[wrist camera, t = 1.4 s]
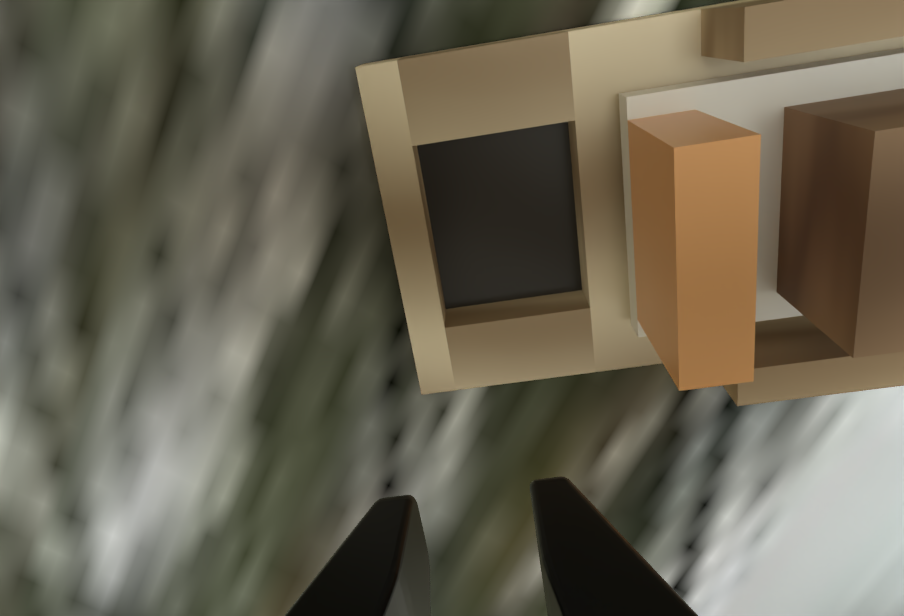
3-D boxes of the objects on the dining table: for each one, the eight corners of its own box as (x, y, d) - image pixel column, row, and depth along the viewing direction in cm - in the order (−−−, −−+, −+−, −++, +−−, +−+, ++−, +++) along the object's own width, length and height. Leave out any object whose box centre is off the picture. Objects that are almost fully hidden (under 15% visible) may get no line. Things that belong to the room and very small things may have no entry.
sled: (981, 277, 17) (1137, 354, 13) (630, 324, 18) (679, 411, 14) (1024, 28, 15) (1232, 30, 11) (618, 93, 15) (673, 118, 11)
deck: (1259, 258, 19) (1455, 316, 15) (424, 369, 20) (416, 445, 17) (1388, -110, 15) (1686, -151, 11) (363, 63, 17) (337, 75, 13)
